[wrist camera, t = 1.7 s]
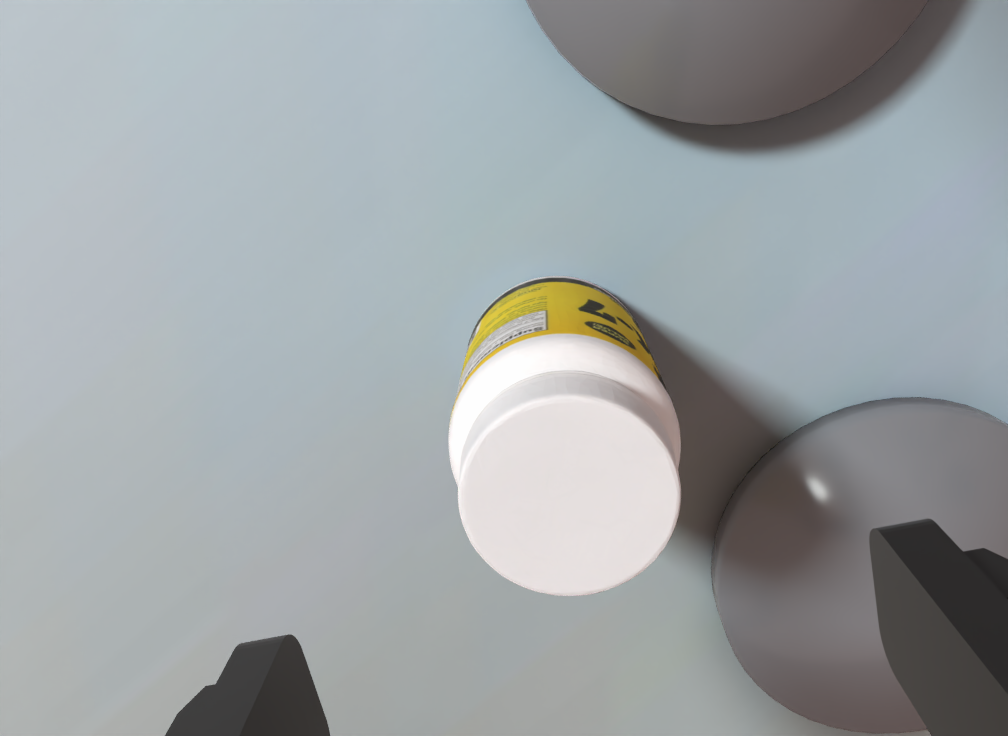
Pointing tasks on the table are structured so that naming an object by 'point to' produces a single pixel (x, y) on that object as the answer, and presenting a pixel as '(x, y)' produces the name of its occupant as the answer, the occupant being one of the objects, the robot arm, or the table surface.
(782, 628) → the dish low side
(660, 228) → the table surface
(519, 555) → the supplement bottle
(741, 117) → the dish high side
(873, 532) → the robot arm
